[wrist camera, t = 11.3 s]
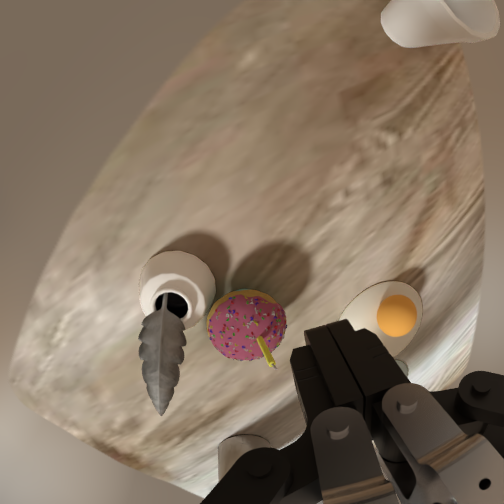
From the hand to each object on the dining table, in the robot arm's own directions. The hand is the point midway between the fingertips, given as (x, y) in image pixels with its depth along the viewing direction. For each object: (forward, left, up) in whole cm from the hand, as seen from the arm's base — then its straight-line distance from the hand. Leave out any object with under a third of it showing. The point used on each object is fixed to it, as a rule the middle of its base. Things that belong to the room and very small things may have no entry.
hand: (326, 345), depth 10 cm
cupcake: (-12, -3, -25) cm, 28 cm away
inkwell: (-16, +5, -25) cm, 30 cm away
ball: (-7, -22, -22) cm, 32 cm away
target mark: (-10, -22, -25) cm, 35 cm away
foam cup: (+28, -10, -25) cm, 39 cm away
